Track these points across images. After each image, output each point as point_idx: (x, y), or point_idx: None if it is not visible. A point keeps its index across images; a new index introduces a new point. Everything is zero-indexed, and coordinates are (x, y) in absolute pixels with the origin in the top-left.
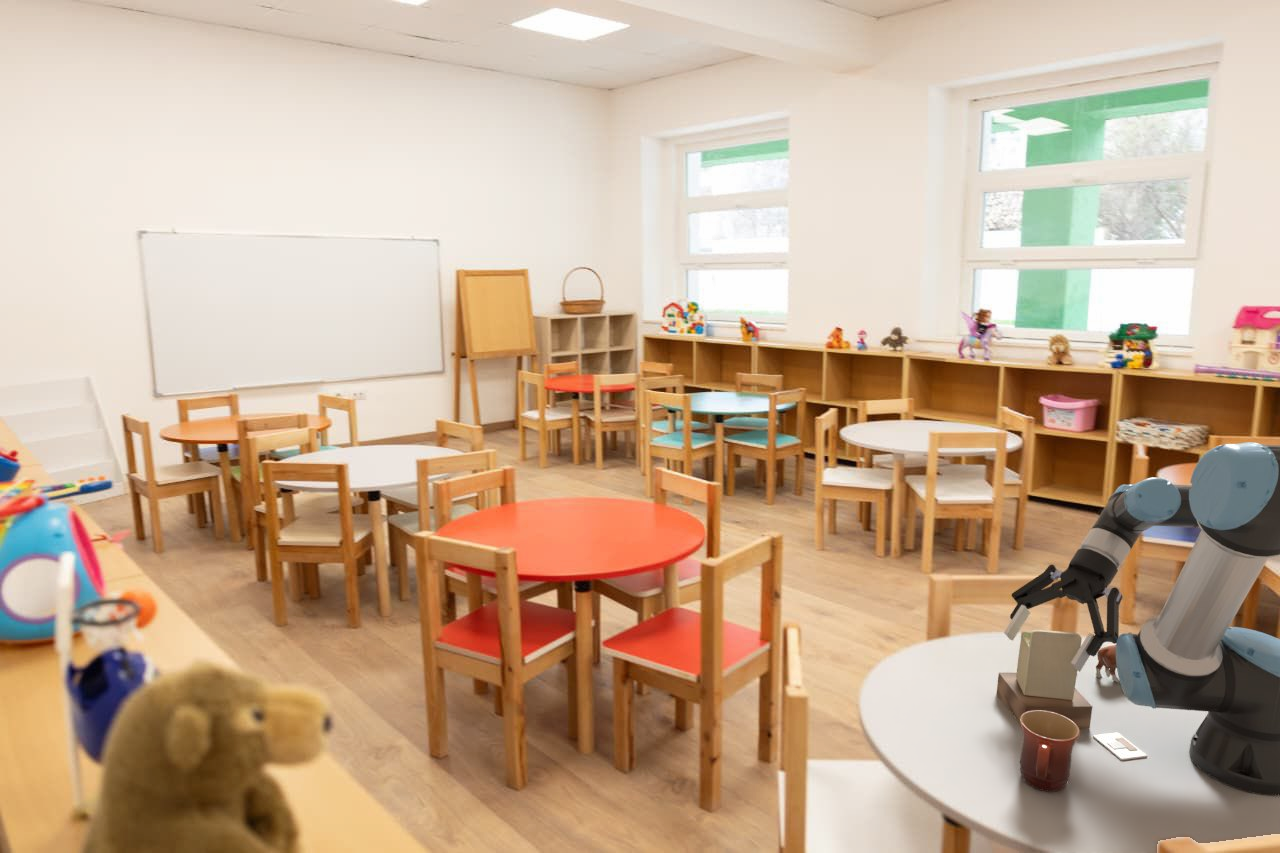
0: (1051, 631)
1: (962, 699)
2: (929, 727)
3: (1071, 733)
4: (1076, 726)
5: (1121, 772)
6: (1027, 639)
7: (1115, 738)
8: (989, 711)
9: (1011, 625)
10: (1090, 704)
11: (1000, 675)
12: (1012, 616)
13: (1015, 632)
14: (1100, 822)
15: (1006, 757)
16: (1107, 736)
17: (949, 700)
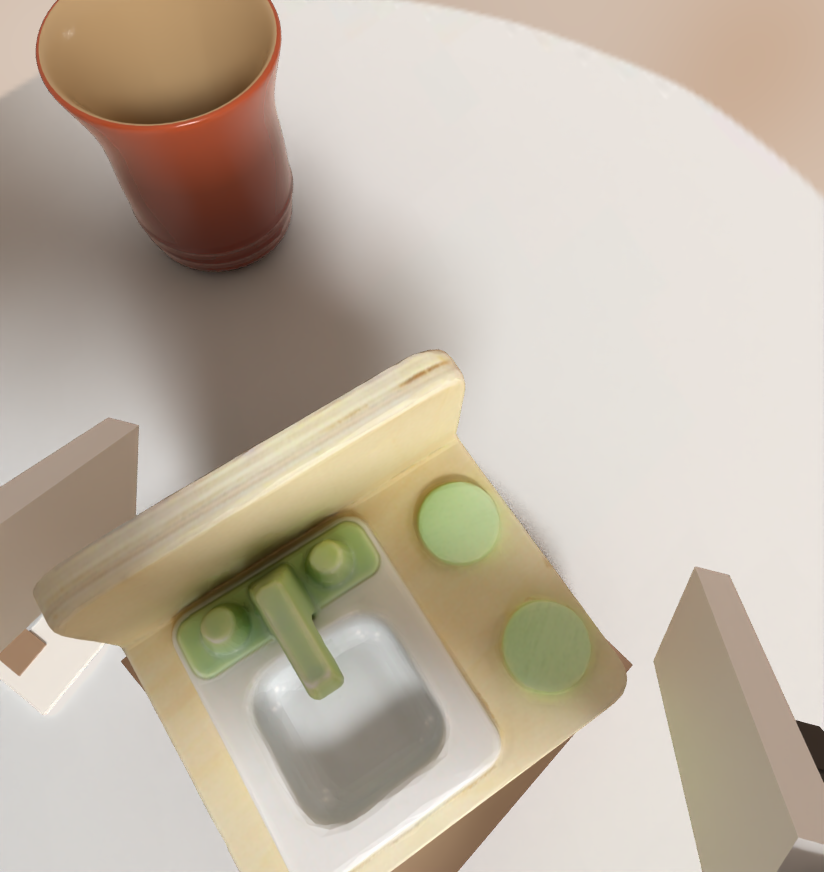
0: (301, 448)
1: (668, 504)
2: (634, 246)
3: (86, 107)
4: (55, 88)
5: (4, 429)
6: (523, 557)
7: (44, 642)
8: (541, 493)
9: (725, 624)
10: (133, 676)
11: (611, 645)
12: (808, 736)
13: (676, 686)
14: (36, 149)
15: (360, 256)
16: (78, 639)
17: (698, 459)
